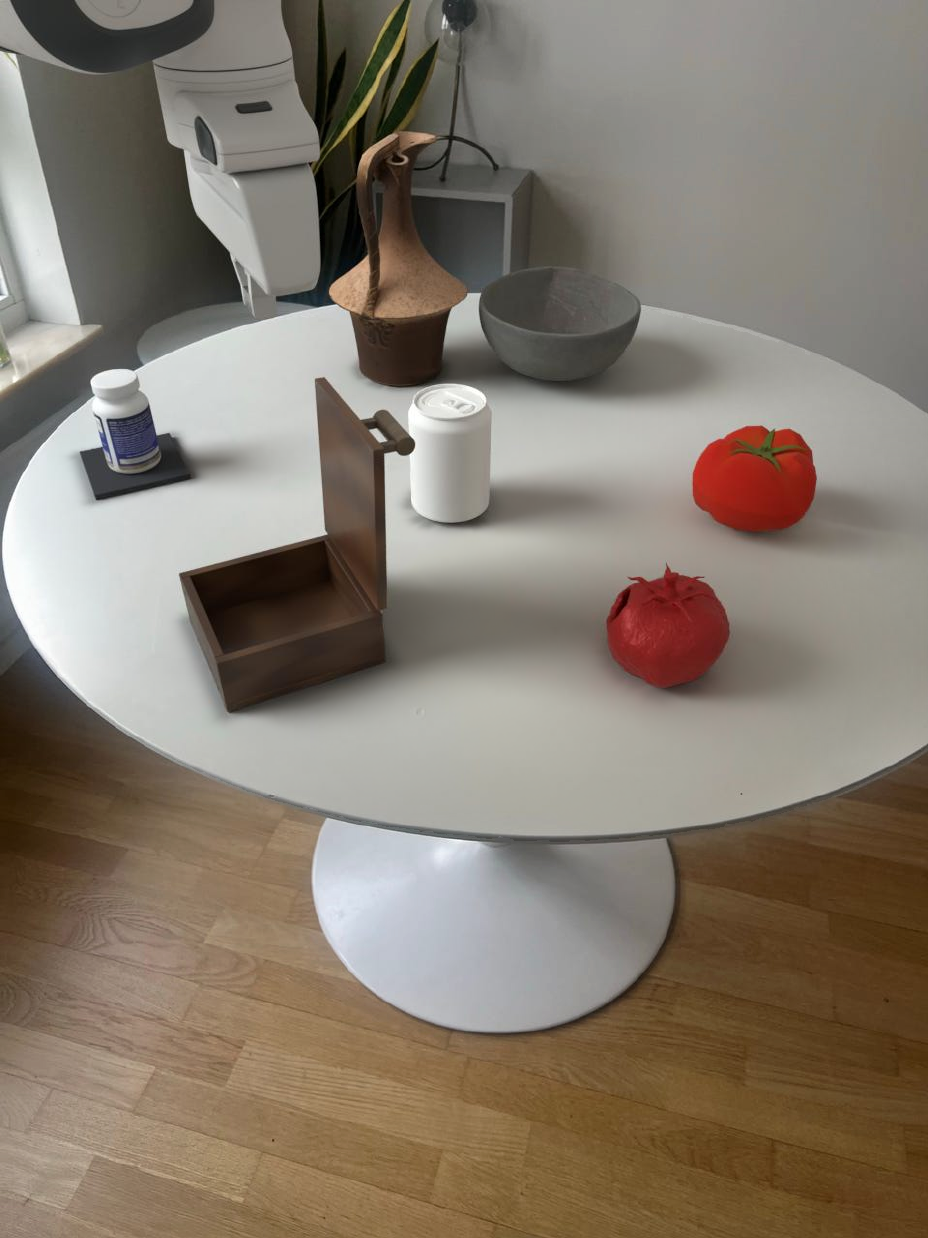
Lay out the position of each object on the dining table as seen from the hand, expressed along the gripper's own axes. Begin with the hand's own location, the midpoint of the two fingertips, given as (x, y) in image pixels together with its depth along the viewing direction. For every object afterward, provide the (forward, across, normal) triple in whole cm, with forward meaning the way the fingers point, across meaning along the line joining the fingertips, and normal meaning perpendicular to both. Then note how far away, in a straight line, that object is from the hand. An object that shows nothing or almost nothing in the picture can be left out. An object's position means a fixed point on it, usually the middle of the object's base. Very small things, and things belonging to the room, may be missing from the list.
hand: (261, 312), depth 71 cm
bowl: (+26, -28, +44) cm, 59 cm away
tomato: (+26, +10, +45) cm, 53 cm away
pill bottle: (+25, -27, -10) cm, 38 cm away
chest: (+26, +8, -4) cm, 27 cm away
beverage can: (+26, -5, +18) cm, 32 cm away
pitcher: (+26, -37, +26) cm, 52 cm away
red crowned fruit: (+26, +24, +24) cm, 43 cm away
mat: (+26, -27, -10) cm, 39 cm away
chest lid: (+13, +8, +3) cm, 15 cm away
